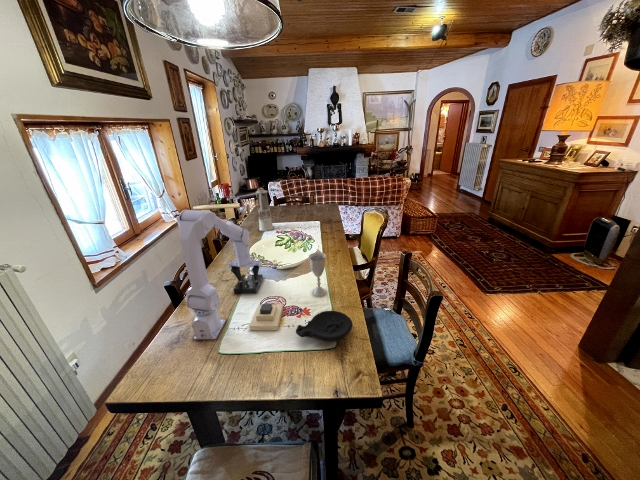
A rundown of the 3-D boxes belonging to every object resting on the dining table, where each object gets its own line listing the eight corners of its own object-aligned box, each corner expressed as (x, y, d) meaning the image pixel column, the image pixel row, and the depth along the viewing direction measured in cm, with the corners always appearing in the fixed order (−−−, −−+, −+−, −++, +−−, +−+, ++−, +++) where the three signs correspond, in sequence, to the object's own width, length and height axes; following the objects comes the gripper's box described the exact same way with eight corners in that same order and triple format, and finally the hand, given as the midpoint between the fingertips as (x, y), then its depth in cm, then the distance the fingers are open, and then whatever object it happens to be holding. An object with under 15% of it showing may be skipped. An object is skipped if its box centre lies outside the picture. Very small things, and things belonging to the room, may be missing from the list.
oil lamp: (294, 324, 93) (293, 313, 91) (345, 315, 96) (345, 304, 94) (299, 357, 80) (298, 345, 78) (358, 345, 83) (358, 333, 81)
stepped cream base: (277, 330, 91) (276, 321, 89) (250, 330, 92) (248, 321, 90) (283, 308, 102) (282, 300, 100) (259, 308, 102) (257, 300, 101)
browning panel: (256, 293, 112) (255, 288, 111) (234, 293, 113) (233, 288, 111) (263, 278, 123) (262, 274, 122) (243, 279, 123) (242, 274, 122)
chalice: (317, 286, 115) (314, 251, 107) (330, 290, 111) (328, 254, 104) (308, 295, 109) (305, 258, 102) (321, 299, 106) (319, 262, 98)
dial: (248, 284, 114) (246, 277, 113) (245, 284, 114) (243, 277, 113) (251, 278, 119) (250, 271, 117) (248, 278, 119) (247, 271, 117)
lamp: (274, 225, 190) (269, 185, 177) (271, 232, 178) (265, 190, 165) (261, 226, 190) (254, 186, 178) (256, 232, 178) (249, 190, 166)
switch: (270, 314, 94) (269, 310, 93) (260, 314, 94) (259, 310, 93) (272, 308, 97) (271, 303, 96) (263, 308, 97) (262, 303, 96)
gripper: (261, 249, 114) (265, 275, 119) (230, 250, 115) (235, 275, 120) (257, 256, 107) (262, 283, 113) (224, 257, 108) (230, 283, 114)
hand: (248, 280), depth 116 cm, fingers open, 7 cm apart
